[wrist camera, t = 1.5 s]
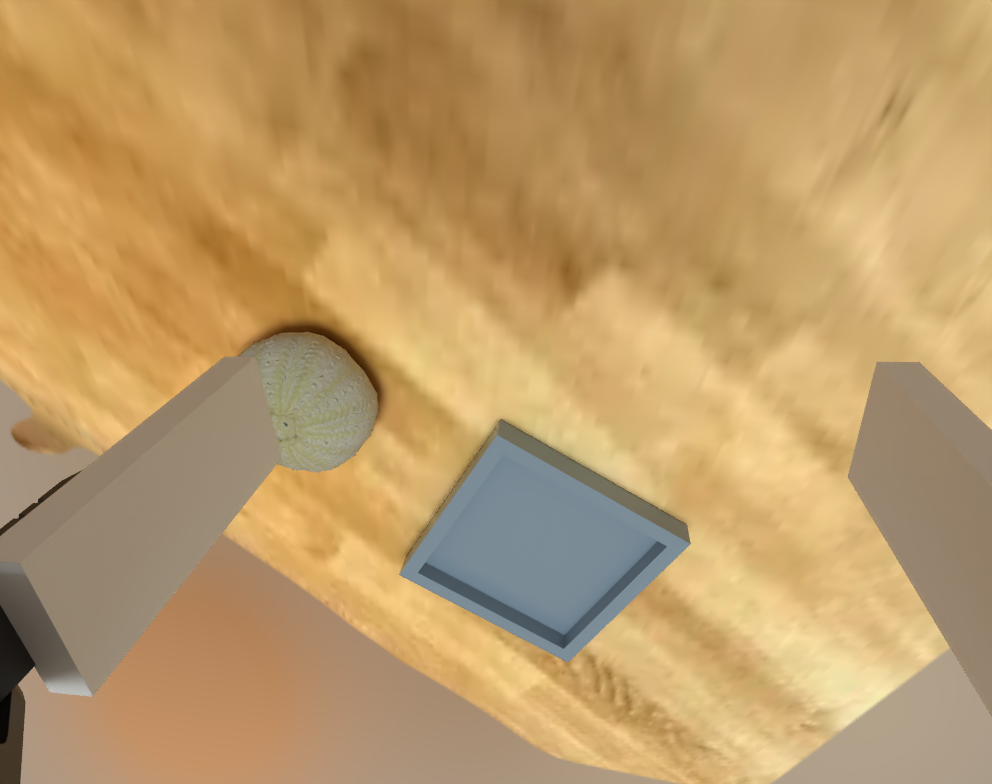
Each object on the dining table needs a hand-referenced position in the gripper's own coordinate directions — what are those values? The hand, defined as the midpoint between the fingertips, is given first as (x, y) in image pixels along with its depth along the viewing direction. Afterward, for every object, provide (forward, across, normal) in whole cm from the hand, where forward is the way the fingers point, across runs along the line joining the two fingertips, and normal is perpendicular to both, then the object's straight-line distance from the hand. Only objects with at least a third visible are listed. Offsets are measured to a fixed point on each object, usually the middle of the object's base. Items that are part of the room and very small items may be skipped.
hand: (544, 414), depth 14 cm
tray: (+21, -2, -22) cm, 31 cm away
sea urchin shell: (+21, -16, -11) cm, 29 cm away
